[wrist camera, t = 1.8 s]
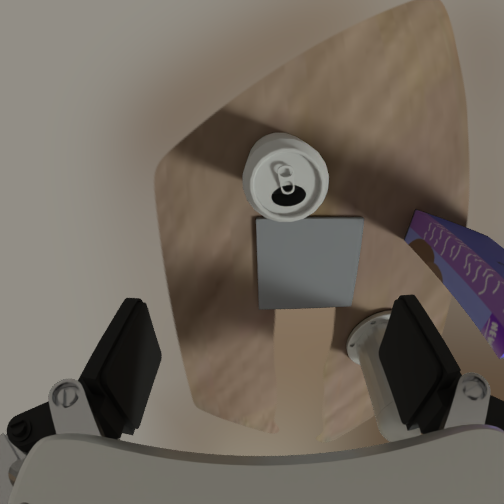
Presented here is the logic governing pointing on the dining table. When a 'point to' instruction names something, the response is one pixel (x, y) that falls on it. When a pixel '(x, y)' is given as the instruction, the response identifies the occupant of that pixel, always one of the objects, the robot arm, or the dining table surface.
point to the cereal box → (464, 270)
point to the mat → (308, 262)
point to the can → (284, 178)
